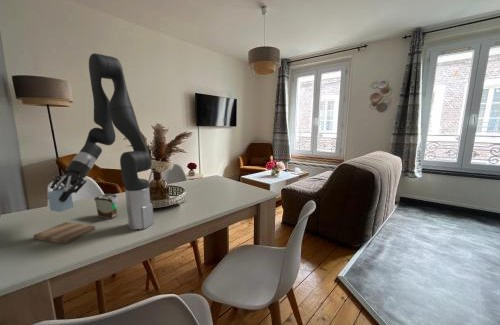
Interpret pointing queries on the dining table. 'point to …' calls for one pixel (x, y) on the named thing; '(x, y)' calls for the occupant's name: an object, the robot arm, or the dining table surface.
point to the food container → (106, 205)
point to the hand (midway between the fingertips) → (55, 200)
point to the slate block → (58, 205)
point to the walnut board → (64, 232)
